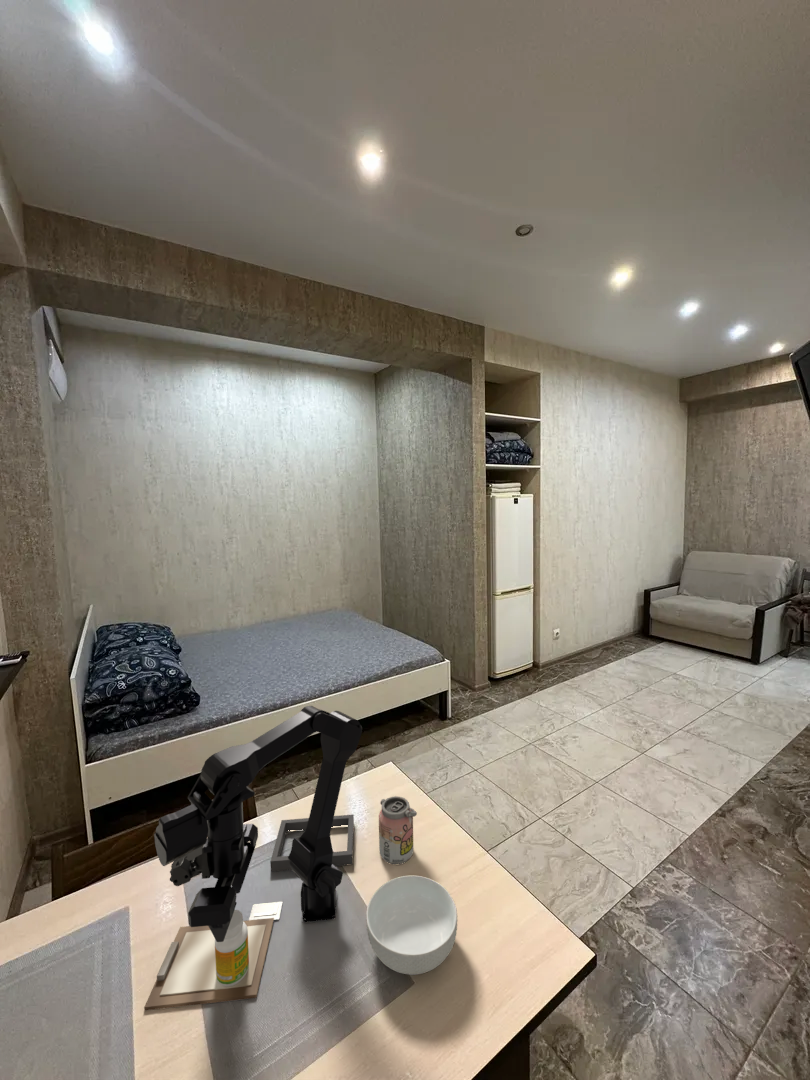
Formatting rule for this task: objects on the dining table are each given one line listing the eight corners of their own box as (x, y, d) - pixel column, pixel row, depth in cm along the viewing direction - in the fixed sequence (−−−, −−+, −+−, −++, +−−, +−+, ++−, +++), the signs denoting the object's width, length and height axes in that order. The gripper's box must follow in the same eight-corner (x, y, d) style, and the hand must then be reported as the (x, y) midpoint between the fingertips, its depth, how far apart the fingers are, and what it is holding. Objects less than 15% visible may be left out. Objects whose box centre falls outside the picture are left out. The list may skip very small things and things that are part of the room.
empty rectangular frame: (353, 823, 114) (353, 814, 114) (352, 864, 101) (351, 854, 101) (282, 829, 113) (281, 820, 113) (270, 871, 99) (270, 861, 99)
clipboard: (273, 920, 87) (273, 913, 87) (256, 997, 73) (256, 988, 73) (180, 929, 86) (179, 922, 86) (144, 1010, 72) (143, 1001, 72)
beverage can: (395, 832, 111) (394, 787, 110) (423, 847, 106) (422, 799, 105) (371, 856, 103) (370, 807, 103) (400, 873, 98) (399, 822, 98)
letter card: (282, 902, 91) (282, 901, 91) (279, 920, 88) (278, 918, 87) (253, 905, 91) (253, 903, 91) (248, 923, 87) (248, 921, 87)
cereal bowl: (465, 919, 87) (465, 886, 86) (445, 1010, 71) (445, 969, 71) (386, 896, 92) (385, 864, 92) (351, 975, 77) (350, 938, 76)
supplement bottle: (238, 991, 74) (235, 937, 73) (209, 984, 75) (207, 931, 74) (255, 959, 79) (252, 908, 78) (228, 953, 80) (226, 903, 80)
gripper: (197, 798, 84) (201, 875, 85) (150, 878, 65) (155, 976, 66) (257, 793, 85) (260, 870, 86) (227, 872, 66) (231, 968, 67)
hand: (229, 915), depth 76 cm, fingers open, 9 cm apart
